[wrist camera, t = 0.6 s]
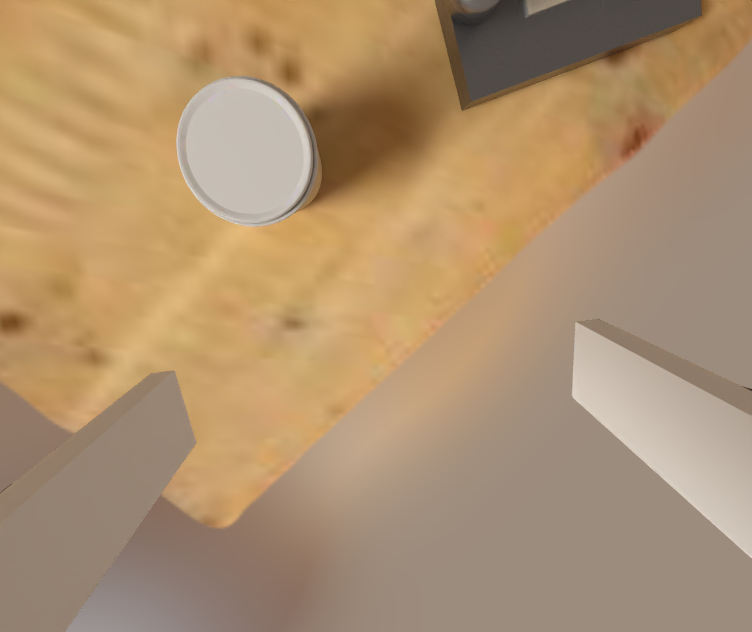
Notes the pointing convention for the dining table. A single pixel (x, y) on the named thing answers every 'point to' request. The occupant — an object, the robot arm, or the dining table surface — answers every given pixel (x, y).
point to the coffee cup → (248, 151)
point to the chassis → (545, 38)
